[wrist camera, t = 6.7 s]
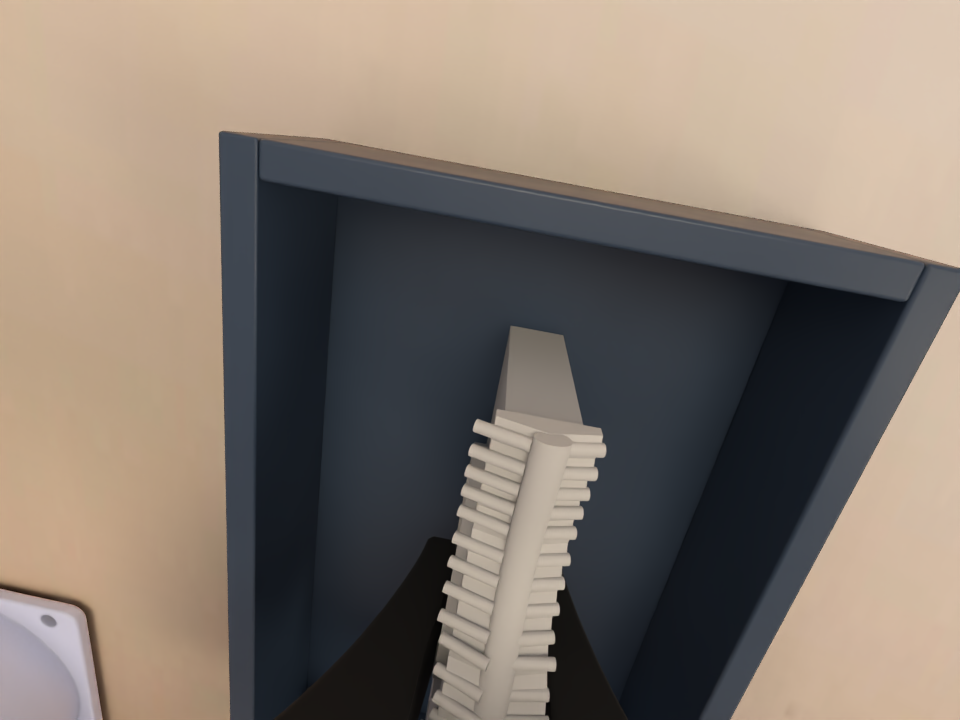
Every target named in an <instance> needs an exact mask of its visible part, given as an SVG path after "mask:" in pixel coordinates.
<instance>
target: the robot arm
mask: <svg viewBox="0 0 960 720" xmlns="http://www.w3.org/2000/svg"><path fill="white" fill-rule="evenodd" d="M456 549H457V545H456V544H454V543H452V540H449V539H445V538H440V537H435V536H433V537H431V538H429V539H428V540H427V542H426V545H425V547H424V549H423V551H422V553H421V554H420V556H419V558H418V560H417V561H416V563H415V565H414V566H413V568H412V569H411V571H410V572H409V574H408V575H407V577H406V578H405V580H404V581H403V583H402V584H401V585H400V587H399V588H398V589H397V591H396V592H395V593H394V595H393V596H392V598H391V599H390V600H389V602H388V603H387V604H386V606H385V607H384V608H383V609H382V611H381V612H380V613H379V614H378V615H377V616H376V618H375V619H374V620H373V621H372V622H371V624H370V625H369V626H368V627H367V628H366V630H365V631H364V632H363V633H362V634H361V636H360V637H359V638H358V639H357V640H356V641H355V642H354V643H353V644H352V645H351V647H350V648H349V649H348V650H347V651H346V652H345V653H344V654H343V655H342V656H341V657H340V658H339V659H338V660H337V661H336V662H335V663H334V664H333V665H332V666H331V667H330V668H329V669H328V670H327V671H326V672H325V673H324V674H323V675H322V676H321V677H320V678H319V679H318V680H317V681H316V682H315V683H314V684H313V685H312V686H311V687H309V688H308V689H307V690H306V691H305V692H304V693H303V694H302V695H301V696H300V697H299V698H298V699H297V700H295V701H294V702H293V703H292V704H291V705H290V706H289V707H287V708H286V709H285V710H284V711H283V712H282V713H280V714H279V715H278V716H277V717H276V718H274V719H273V720H418V718H419V714H420V711H421V708H422V704H423V701H424V698H425V694H426V691H427V687H428V684H429V681H430V677H431V674H432V670H433V665H434V659H435V653H436V648H437V642H438V640H439V637H440V634H441V629H442V624H443V623H441V622H439V621H437V618H438V615H439V612H440V610H441V609H442V608H443V609H445V608H446V603H447V598H448V595H447V594H445V593H443V592H442V590H443V587H444V585H445V583H446V581H447V580H448V581H450V582H451V576H452V571H453V569H452V568H450V567H447V564H448V561H449V558H450V556H451V555H454V556H455V554H456ZM561 576H563V577H564V575H563V572H562V575H561ZM564 580H565V578H564ZM556 602H558V603H559V607H560V613H559V616H553V617H552V625H551V630H553V631H554V634H555V643H554V644H551V645H548V657H555V659H556V671H555V672H550V671H547V687H548V689H549V693H550V698H549V702H546V708H545V716H548V717H549V720H628V718H627V717H626V715H625V713H624V711H623V709H622V708H621V706H620V704H619V702H618V700H617V698H616V696H615V694H614V692H613V690H612V689H611V687H610V685H609V683H608V681H607V679H606V677H605V675H604V673H603V671H602V669H601V666H600V664H599V662H598V660H597V658H596V656H595V654H594V651H593V649H592V647H591V645H590V642H589V640H588V638H587V635H586V633H585V631H584V629H583V626H582V624H581V621H580V619H579V616H578V614H577V611H576V609H575V606H574V604H573V601H572V598H571V595H570V593H569V590H568V587H567V584H566V581H565V588H564V590H558V591H557V599H556ZM0 720H103V718H102V712H101V706H100V699H99V693H98V687H97V681H96V675H95V668H94V662H93V656H92V650H91V644H90V637H89V631H88V625H87V619H86V615H85V613H84V612H83V611H82V610H81V609H80V608H79V607H77V606H75V605H72V604H68V603H63V602H58V601H54V600H49V599H45V598H40V597H36V596H31V595H27V594H22V593H18V592H13V591H9V590H4V589H0Z"/></svg>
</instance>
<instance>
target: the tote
mask: <svg viewBox="0 0 960 720" xmlns="http://www.w3.org/2000/svg"><path fill="white" fill-rule="evenodd" d="M219 163H220V214H221V265H222V316H223V367H224V419H225V470H226V521H227V572H228V623H229V674H230V720H273V719H274V718H276V717H277V716H278V715H279V714H280V713H282V712H283V711H284V710H285V709H286V708H287V707H289V706H290V705H291V704H292V703H293V702H294V701H295V700H297V699H298V698H299V697H300V696H301V695H302V694H303V693H304V692H305V691H306V690H307V689H308V688H309V687H311V686H312V685H313V684H314V683H315V682H316V681H317V680H318V679H319V678H320V677H321V676H322V675H323V674H324V673H325V672H326V671H327V670H328V669H329V668H330V667H331V666H332V665H333V664H334V663H335V662H336V661H337V660H338V659H339V658H340V657H341V656H342V655H343V654H344V653H345V652H346V651H347V650H348V649H349V648H350V647H351V645H352V644H353V643H354V642H355V641H356V640H357V639H358V638H359V637H360V636H361V634H362V633H363V632H364V631H365V630H366V628H367V627H368V626H369V625H370V624H371V622H372V621H373V620H374V619H375V618H376V616H377V615H378V614H379V613H380V612H381V611H382V609H383V608H384V607H385V606H386V604H387V603H388V602H389V600H390V599H391V598H392V596H393V595H394V593H395V592H396V591H397V589H398V588H399V587H400V585H401V584H402V583H403V581H404V580H405V578H406V577H407V575H408V574H409V572H410V571H411V569H412V568H413V566H414V565H415V563H416V561H417V560H418V558H419V556H420V554H421V553H422V551H423V549H424V547H425V545H426V542H427V540H428V539H429V538H431V537H433V536H435V537H440V538H445V539H449V540H452V538H453V535H454V533H455V532H456V531H457V529H458V523H459V518H460V517H459V516H457V511H458V508H459V506H460V505H461V504H462V502H463V496H461V490H462V488H463V486H464V484H465V483H466V481H467V477H465V476H464V473H465V470H466V467H467V466H468V464H470V461H471V457H470V456H468V452H469V449H470V446H471V445H472V444H473V443H474V442H478V443H483V444H487V440H488V437H486V436H483V435H481V434H478V433H475V432H473V426H474V424H475V421H476V420H477V419H480V420H482V421H485V422H488V423H491V420H492V415H493V410H494V405H495V400H496V395H497V390H498V385H499V380H500V376H501V371H502V366H503V361H504V356H505V351H506V346H507V341H508V336H509V331H510V326H516V327H521V328H527V329H532V330H537V331H543V332H548V333H554V334H559V335H563V336H564V341H565V345H566V350H567V354H568V359H569V363H570V368H571V372H572V377H573V381H574V386H575V390H576V395H577V399H578V404H579V408H580V413H581V417H582V422H583V425H585V426H591V427H596V428H601V430H602V434H603V438H602V443H604V444H605V445H606V455H605V457H604V458H597V457H596V458H595V463H594V467H596V468H597V470H598V478H597V480H596V481H587V486H586V487H588V488H589V489H590V499H589V501H580V505H579V506H582V507H583V511H584V515H583V519H582V520H574V521H573V526H575V527H576V529H577V537H576V539H575V540H569V542H568V546H567V553H569V554H570V558H571V563H570V566H562V572H563V575H564V578H565V581H566V584H567V587H568V590H569V593H570V595H571V598H572V601H573V604H574V606H575V609H576V611H577V614H578V616H579V619H580V621H581V624H582V626H583V629H584V631H585V633H586V635H587V638H588V640H589V642H590V645H591V647H592V649H593V651H594V654H595V656H596V658H597V660H598V662H599V664H600V666H601V669H602V671H603V673H604V675H605V677H606V679H607V681H608V683H609V685H610V687H611V689H612V690H613V692H614V694H615V696H616V698H617V700H618V702H619V704H620V706H621V708H622V709H623V711H624V713H625V715H626V717H627V718H628V720H730V719H731V717H732V715H733V713H734V711H735V710H736V708H737V706H738V704H739V702H740V700H741V698H742V696H743V695H744V693H745V691H746V689H747V687H748V685H749V683H750V682H751V680H752V678H753V676H754V674H755V672H756V670H757V668H758V667H759V665H760V663H761V661H762V659H763V657H764V655H765V654H766V652H767V650H768V648H769V646H770V644H771V642H772V640H773V639H774V637H775V635H776V633H777V631H778V629H779V627H780V626H781V624H782V622H783V620H784V618H785V616H786V614H787V612H788V611H789V609H790V607H791V605H792V603H793V601H794V599H795V598H796V596H797V594H798V592H799V590H800V588H801V586H802V585H803V583H804V581H805V579H806V577H807V575H808V573H809V571H810V570H811V568H812V566H813V564H814V562H815V560H816V558H817V557H818V555H819V553H820V551H821V549H822V547H823V545H824V543H825V542H826V540H827V538H828V536H829V534H830V532H831V530H832V529H833V527H834V525H835V523H836V521H837V519H838V517H839V515H840V514H841V512H842V510H843V508H844V506H845V504H846V502H847V501H848V499H849V497H850V495H851V493H852V491H853V489H854V487H855V486H856V484H857V482H858V480H859V478H860V476H861V474H862V473H863V471H864V469H865V467H866V465H867V463H868V461H869V460H870V458H871V456H872V454H873V452H874V450H875V448H876V446H877V445H878V443H879V441H880V439H881V437H882V435H883V433H884V432H885V430H886V428H887V426H888V424H889V422H890V420H891V418H892V417H893V415H894V413H895V411H896V409H897V407H898V405H899V404H900V402H901V400H902V398H903V396H904V394H905V392H906V390H907V389H908V387H909V385H910V383H911V381H912V379H913V377H914V376H915V374H916V372H917V370H918V368H919V366H920V364H921V362H922V361H923V359H924V357H925V355H926V353H927V351H928V349H929V348H930V346H931V344H932V342H933V340H934V338H935V336H936V334H937V333H938V331H939V329H940V327H941V325H942V323H943V321H944V320H945V318H946V316H947V314H948V312H949V310H950V308H951V307H952V305H953V303H954V301H955V299H956V297H957V295H958V293H959V292H960V268H958V267H954V266H951V265H947V264H943V263H939V262H936V261H932V260H928V259H925V258H921V257H917V256H913V255H910V254H906V253H902V252H899V251H895V250H891V249H887V248H884V247H880V246H876V245H873V244H869V243H865V242H861V241H858V240H854V239H850V238H847V237H843V236H839V235H835V234H832V233H828V232H824V231H819V230H814V229H808V228H803V227H798V226H792V225H787V224H782V223H776V222H771V221H765V220H760V219H755V218H749V217H744V216H738V215H733V214H728V213H722V212H717V211H712V210H706V209H701V208H695V207H690V206H685V205H679V204H674V203H669V202H663V201H658V200H652V199H647V198H642V197H636V196H631V195H625V194H620V193H615V192H609V191H604V190H599V189H593V188H588V187H582V186H577V185H572V184H566V183H561V182H556V181H550V180H545V179H539V178H534V177H529V176H523V175H518V174H512V173H507V172H502V171H496V170H491V169H486V168H480V167H475V166H469V165H464V164H459V163H453V162H448V161H443V160H437V159H432V158H426V157H421V156H416V155H410V154H405V153H399V152H394V151H389V150H383V149H378V148H373V147H367V146H362V145H356V144H351V143H346V142H340V141H335V140H330V139H323V138H310V137H297V136H284V135H270V134H257V133H244V132H230V131H221V132H220V133H219ZM432 672H433V670H432ZM432 680H433V678H432V674H431V677H430V681H429V684H428V687H427V691H426V694H425V698H424V701H423V704H422V708H421V711H420V714H419V718H418V720H421V719H423V720H425V718H426V712H427V706H428V700H429V695H430V690H431V685H432Z"/></svg>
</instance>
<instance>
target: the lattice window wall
mask: <svg viewBox="0 0 960 720" xmlns="http://www.w3.org/2000/svg"><path fill="white" fill-rule="evenodd" d="M473 432H475V433H478V434H481V435H483V436H486V437H488V440H487V444H483V443H478V442H474V443H473V444H472V445H471V446H470V449H469V452H468V456H470V457H471V461H470V464H468V466H467V467H466V470H465V473H464V476H465V477H467V481H466V483H465V484H464V486H463V488H462V490H461V496H463V502H462V504H461V505H460V506H459V508H458V511H457V516H459V517H460V518H459V523H458V529H457V531H456V532H455V533H454V535H453V538H452V543H454V544H456V545H457V549H456V554H455V556H454V555H451V556H450V558H449V561H448V564H447V567H450V568H452V569H453V571H452V576H451V582H450V581H448V580H447V581H446V583H445V585H444V587H443V590H442V592H443V593H445V594H447V595H448V598H447V603H446V608H445V609H443V608H442V609H441V610H440V612H439V615H438V618H437V621H439V622H441V623H443V624H442V629H441V634H440V637H439V640H438V642H437V648H436V653H435V659H434V665H433V672H432V678H433V680H432V685H431V690H430V695H429V700H428V706H427V712H426V718H425V720H549V717H548V716H545V708H546V702H549V698H550V693H549V689H548V687H547V671H550V672H555V671H556V659H555V657H548V645H551V644H554V643H555V634H554V631H553V630H551V625H552V617H553V616H559V613H560V607H559V603H558V602H556V599H557V591H558V590H564V588H565V580H564V577H563V576H561V575H562V566H570V563H571V558H570V554H569V553H567V546H568V542H569V540H575V539H576V537H577V529H576V527H575V526H573V521H574V520H582V519H583V515H584V511H583V507H582V506H579V505H580V501H589V499H590V489H589V488H588V487H586V486H587V481H596V480H597V478H598V470H597V468H596V467H594V463H595V458H596V457H597V458H604V457H605V455H606V445H605V444H604V443H602V438H603V434H602V430H601V428H596V427H591V426H585V425H583V422H582V417H581V413H580V408H579V404H578V399H577V395H576V390H575V386H574V381H573V377H572V372H571V368H570V363H569V359H568V354H567V350H566V345H565V341H564V336H563V335H559V334H554V333H548V332H543V331H537V330H532V329H527V328H521V327H516V326H510V331H509V336H508V341H507V346H506V351H505V356H504V361H503V366H502V371H501V376H500V380H499V385H498V390H497V395H496V400H495V405H494V410H493V415H492V420H491V423H488V422H485V421H482V420H480V419H477V420H476V421H475V424H474V426H473ZM421 720H423V719H421Z"/></svg>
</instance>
